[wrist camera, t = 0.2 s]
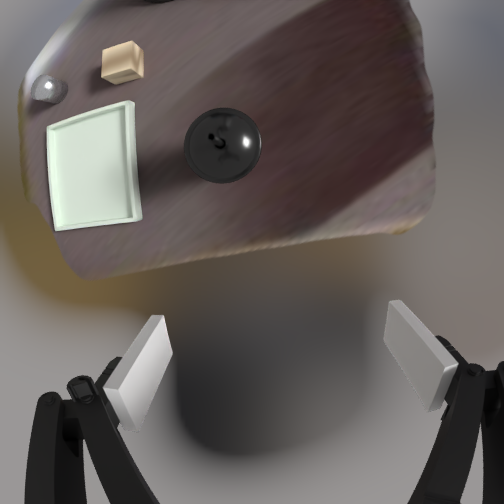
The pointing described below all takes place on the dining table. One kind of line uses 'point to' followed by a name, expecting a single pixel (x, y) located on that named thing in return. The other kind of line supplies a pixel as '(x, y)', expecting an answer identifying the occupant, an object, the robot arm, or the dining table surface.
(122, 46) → the beech block
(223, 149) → the drinking cup
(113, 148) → the tray
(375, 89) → the dining table surface
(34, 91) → the cylinder
